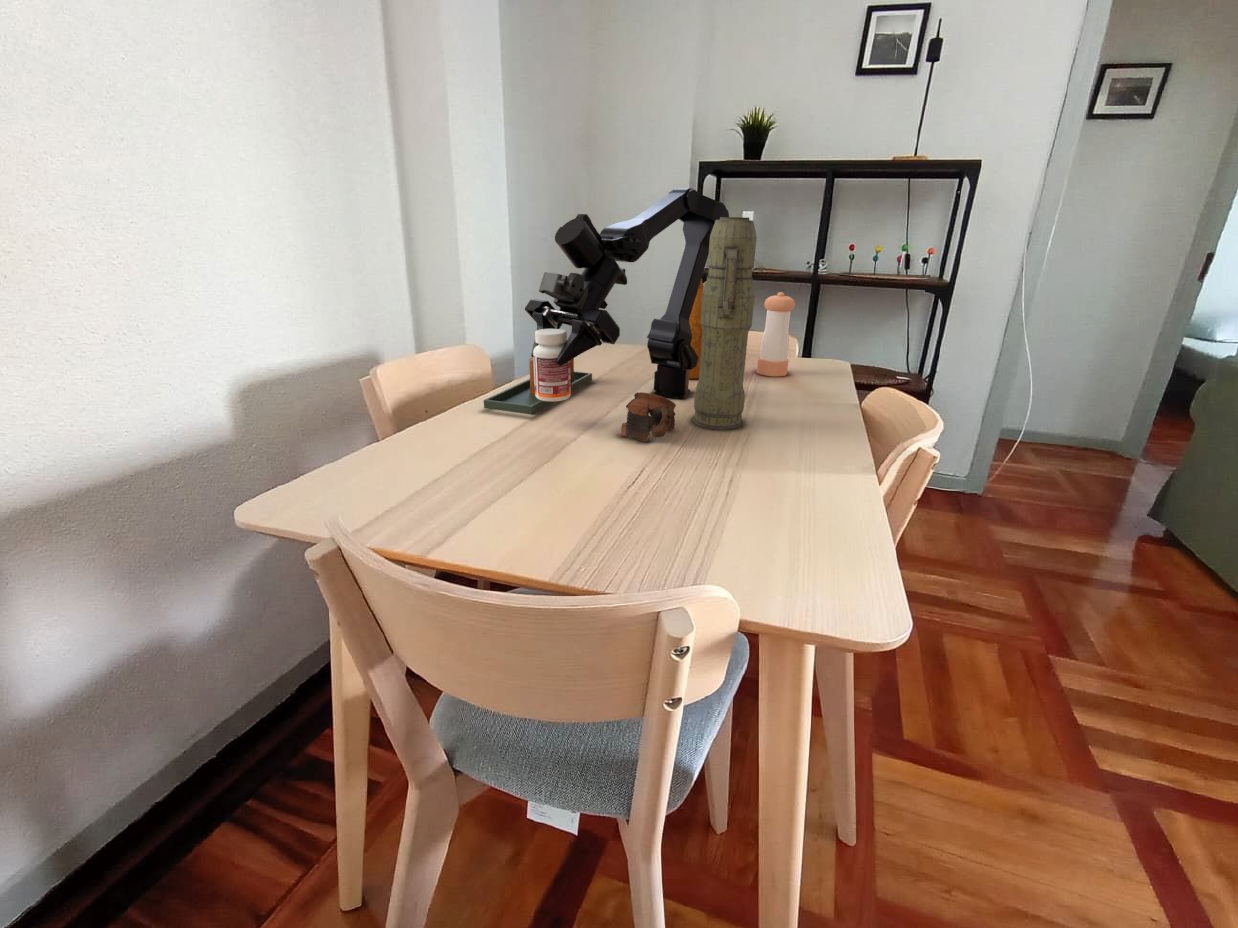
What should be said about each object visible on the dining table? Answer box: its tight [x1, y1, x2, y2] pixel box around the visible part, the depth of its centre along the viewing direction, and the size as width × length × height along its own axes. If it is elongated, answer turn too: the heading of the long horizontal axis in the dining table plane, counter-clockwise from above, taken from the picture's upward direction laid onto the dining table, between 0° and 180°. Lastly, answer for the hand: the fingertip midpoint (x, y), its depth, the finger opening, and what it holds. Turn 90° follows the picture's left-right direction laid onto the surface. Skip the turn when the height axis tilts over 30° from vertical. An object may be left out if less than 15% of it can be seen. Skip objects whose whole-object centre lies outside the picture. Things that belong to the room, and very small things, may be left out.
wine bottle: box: [689, 277, 704, 380], centre depth 140 cm, size 10×10×30 cm
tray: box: [483, 370, 593, 416], centre depth 125 cm, size 10×28×2 cm, turn 159°
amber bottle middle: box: [528, 356, 535, 395], centre depth 123 cm, size 5×5×11 cm
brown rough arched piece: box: [620, 391, 677, 443], centre depth 104 cm, size 12×10×8 cm
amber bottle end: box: [564, 331, 575, 383], centre depth 132 cm, size 5×5×11 cm
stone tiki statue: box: [693, 216, 758, 431], centre depth 106 cm, size 9×12×35 cm
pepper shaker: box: [756, 291, 796, 377], centre depth 146 cm, size 7×7×19 cm
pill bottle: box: [533, 328, 572, 402], centre depth 103 cm, size 6×6×11 cm
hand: (545, 360), depth 102 cm, fingers closed on pill bottle, 6 cm apart
